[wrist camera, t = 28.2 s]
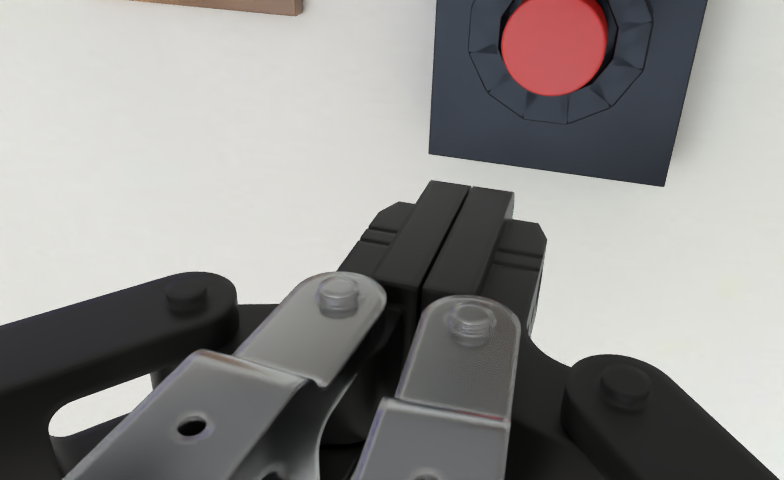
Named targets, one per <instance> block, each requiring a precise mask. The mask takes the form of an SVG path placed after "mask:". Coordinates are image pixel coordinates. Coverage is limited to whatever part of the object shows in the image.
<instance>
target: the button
mask: <svg viewBox="0 0 784 480" xmlns="http://www.w3.org/2000/svg"><path fill="white" fill-rule="evenodd" d="M607 40H608V25H607V20H606V17H605V14H604V12H603V10H602V8H601V6H600V5H599V3H598V2H597V1H596V0H523V1H522V2H521V4H520V5H519V6H518V7H517V9H516V10H515V11H514V12H513V14H512V15H511V16H510V18H509V20H508V21H507V23H506V26H505V28H504V31H503V34H502V41H501V51H502V57H503V61H504V64H505V67H506V69H507V70H508V72H509V74H510V75H511V77H512V78H513V79H514V80H515V81H516V82H517V83H518V84H519V85H520V86H522V87H523V88H525V89H526V90H528V91H530V92H532V93H535V94H538V95H543V96H561V95H566V94H569V93H572V92H574V91H576V90H578V89H580V88H581V87H583V86H584V85H585V84H587V83H588V82H589V81H590V80H591V79H592V78H593V77H594V75H595V74H596V73H597V71H598V70H599V68H600V66H601V64H602V61H603V59H604V55H605V51H606V46H607Z"/></svg>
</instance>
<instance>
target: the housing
mask: <svg viewBox="0 0 784 480" xmlns="http://www.w3.org/2000/svg"><path fill="white" fill-rule="evenodd" d="M522 1H523V0H437V4H436V22H435V41H434V60H433V79H432V98H431V116H430V135H429V154H432V155H439V156H447V157H454V158H461V159H468V160H475V161H482V162H489V163H496V164H504V165H511V166H518V167H525V168H532V169H539V170H546V171H553V172H560V173H568V174H575V175H582V176H589V177H596V178H603V179H610V180H617V181H625V182H632V183H639V184H646V185H653V186H660V187H664V186H665V182H666V177H667V173H668V169H669V164H670V160H671V156H672V151H673V147H674V143H675V139H676V134H677V130H678V126H679V121H680V117H681V113H682V108H683V104H684V100H685V96H686V91H687V87H688V83H689V78H690V74H691V70H692V65H693V61H694V57H695V52H696V48H697V44H698V40H699V35H700V31H701V27H702V22H703V18H704V14H705V9H706V5H707V1H708V0H596V1H597V2H598V3H599V5H600V6H601V8H602V10H603V12H604V14H605V17H606V20H607V25H608V40H607V46H606V51H605V55H604V59H603V61H602V64H601V66H600V68H599V70H598V71H597V73H596V74H595V75H594V77H593V78H592V79H591V80H590V81H589V82H588V83H587V84H585V85H584V86H583V87H581V88H580V89H578V90H576V91H574V92H572V93H569V94H566V95H561V96H543V95H538V94H535V93H532V92H530V91H528V90H526V89H525V88H523V87H522V86H520V85H519V84H518V83H517V82H516V81H515V80H514V79H513V78H512V77H511V75H510V74H509V72H508V70H507V69H506V67H505V64H504V61H503V57H502V51H501V41H502V34H503V31H504V28H505V26H506V23H507V21H508V20H509V18H510V16H511V15H512V14H513V12H514V11H515V10H516V9H517V7H518V6H519V5H520V4H521V2H522Z"/></svg>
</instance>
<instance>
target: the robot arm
mask: <svg viewBox="0 0 784 480" xmlns="http://www.w3.org/2000/svg"><path fill="white" fill-rule="evenodd" d="M513 208H514V192H508V191H502V190H495V189H488V188H482V187H475V186H473V188H472V187H471V186H467V185H461V184H454V183H447V182H440V181H434V180H431V181H430V182H429V183H428V185H427V187H426V188H425V190H424V191H423V193H422V194H421V196H420V198H419V199H418V201H417V202H416V204H411V203H405V202H397V203H395V204H393V205H391V206H389V207H388V208H386V209H384V210H382V211H380V212H379V213H378V214H377V215H376V217H375V218H374V220H373V221H372V222H371V224H370V225H369V228H368V229H366V231H365V232H364V234H363V235H362V236H361V238H360V241H358V242H357V243H356V245H355V246H354V247H353V249H352V250H351V252H350V253H349V254H348V256H347V257H346V259H345V260H344V261H343V263H342V264H341V265H340V267H339V268H338V270H337V271H336V272H327V273H322V274H318V275H315V276H312V277H310V278H307V279H305V280H304V281H302V282H301V283H299V284H298V285H297V286H296V287H295V288H294V289H293V290H292V291H291V292H290V293H289V295H288V296H287V297H286V298H285V299H284V300H283V301H282V302H281V303H280V304H243V305H238V302H237V292H236V288H235V286H234V285H233V283H232V282H231V281H229V280H228V279H226V278H225V277H223V276H220V275H218V274H213V273H208V272H185V273H179V274H175V275H171V276H167V277H164V278H160V279H157V280H154V281H150V282H147V283H143V284H140V285H137V286H133V287H130V288H127V289H123V290H120V291H116V292H113V293H110V294H106V295H103V296H100V297H96V298H93V299H89V300H86V301H83V302H79V303H76V304H73V305H69V306H66V307H62V308H59V309H56V310H52V311H49V312H45V313H42V314H39V315H35V316H32V317H29V318H25V319H22V320H18V321H15V322H12V323H8V324H5V325H2V326H0V480H779V479H778V478H777V477H776V476H775V475H774V474H773V473H772V472H771V471H770V470H769V469H768V468H766V467H765V466H764V465H763V464H762V463H761V462H760V461H759V460H758V459H757V458H756V457H755V456H754V455H752V454H751V453H750V452H749V451H748V450H747V449H746V448H745V447H744V446H743V445H742V444H741V443H740V442H738V441H737V440H736V439H735V438H734V437H733V436H732V435H731V434H730V433H729V432H728V431H727V430H726V429H724V428H723V427H722V426H721V425H720V424H719V423H718V422H717V421H716V420H715V419H714V418H713V417H712V416H711V415H709V414H708V413H707V412H706V411H705V410H704V409H703V408H702V407H701V406H700V405H699V404H698V403H697V402H695V401H694V400H693V399H692V398H691V397H690V396H689V395H688V394H687V393H686V392H685V391H684V390H683V389H681V388H680V387H679V386H678V385H677V384H676V383H675V382H674V381H673V380H672V379H671V378H670V377H668V376H667V375H666V374H665V373H663V372H662V371H661V370H659V369H657V368H656V367H654V366H652V365H650V364H648V363H646V362H643V361H641V360H638V359H635V358H631V357H627V356H621V355H612V354H604V355H595V356H590V357H587V358H584V359H582V360H580V361H578V362H577V363H576V364H574V365H573V366H572V367H569V366H566V365H564V364H562V363H560V362H558V361H556V360H554V359H552V358H551V357H549V356H547V355H546V354H545V353H543V352H542V351H541V350H540V349H539V348H538V347H537V346H536V345H535V344H534V343H533V342H532V340H531V338H530V337H531V333H532V328H533V324H534V320H535V316H536V311H537V304H538V298H539V291H540V284H541V278H542V271H543V264H544V257H545V251H546V244H547V238H546V236H545V235H544V233H543V231H542V229H541V227H540V225H539V224H538V223H532V222H526V221H520V220H513V219H512V216H513ZM149 373H150V376H151V382H152V387H153V391H152V392H151V393H150V394H149V395H148V396H147V397H146V398H145V399H144V400H143V401H142V402H141V403H140V404H139V405H138V406H137V407H136V408H135V409H134V410H133V411H132V412H130V413H128V414H125V415H122V416H120V417H117V418H115V419H112V420H109V421H107V422H104V423H102V424H99V425H96V426H94V427H91V428H89V429H86V430H83V431H81V432H78V433H75V434H73V435H70V436H66V437H54V436H51V435H49V432H48V426H49V422H50V420H51V418H52V416H53V415H54V414H55V413H56V412H57V411H58V410H59V409H60V408H61V407H62V406H64V405H66V404H67V403H69V402H72V401H74V400H77V399H80V398H82V397H85V396H88V395H91V394H94V393H96V392H99V391H102V390H105V389H107V388H110V387H113V386H116V385H118V384H121V383H124V382H127V381H129V380H132V379H135V378H138V377H141V376H143V375H146V374H149Z"/></svg>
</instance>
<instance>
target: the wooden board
mask: <svg viewBox="0 0 784 480" xmlns="http://www.w3.org/2000/svg"><path fill="white" fill-rule="evenodd" d="M131 1H141V2H152V3H162V4H173V5H183V6H194V7H204V8H214V9H225V10H235V11H246V12H256V13H267V14H277V15H288V16H297V15H299V14H301V13H302V0H131Z"/></svg>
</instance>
